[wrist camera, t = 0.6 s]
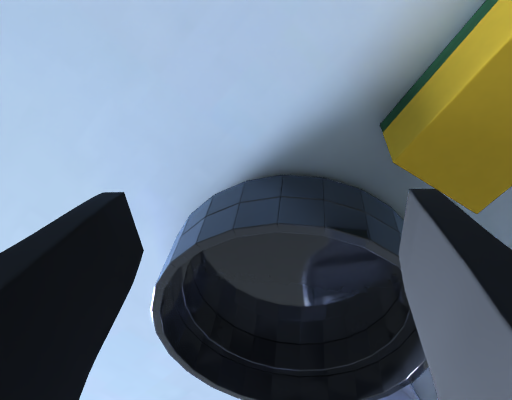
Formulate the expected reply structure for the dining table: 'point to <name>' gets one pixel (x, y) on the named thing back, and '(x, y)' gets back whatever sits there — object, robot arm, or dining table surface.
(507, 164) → the sponge
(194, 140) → the dining table surface
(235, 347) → the bowl
